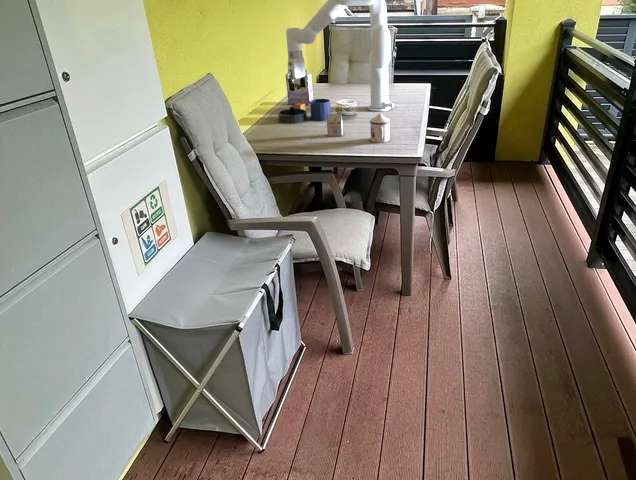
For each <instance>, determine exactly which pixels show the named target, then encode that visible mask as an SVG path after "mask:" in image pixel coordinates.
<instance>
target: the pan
mask: <svg viewBox="0 0 636 480" xmlns="http://www.w3.org/2000/svg"><path fill="white" fill-rule="evenodd" d="M294 110H295V114H299V115H289V114H290V108H287V109H282V110H279V111H278V112H277V114H278V115H277V116H278V122H279V123H283V124H300V123H304V122H306V121H308V114H307V113H308V112H307V109H306V110H304V109H294Z"/></svg>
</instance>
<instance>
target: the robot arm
mask: <svg viewBox="0 0 636 480" xmlns="http://www.w3.org/2000/svg"><path fill="white" fill-rule="evenodd" d="M359 6H360V7H361V6H362V7H363V6H368V8H369V19H370V22H369V23H370V26H369V28H370V29H369V30H370V32H369V36H370V39H371V40H370V41H371V50H370V52H369V70H370V105H368V106H367V109H368V111H372V112H387V111H390V110H391V108H394V107H395V103H394V102H391V100H390V99H389V64H390V62H391V31H390V29H389V28H388V13H387V3H386V0H326V1H325V3H324V4H323V5H322V6H321V7H320V8H319V9H318V11H317V12H316V13H315V15H313V16H312V18H311V19H310V20H309V21H308V22H307V24H306V25H305V26H304V27H303V28H300V27H288V28H286V29H285V34H286V35H285V36H286V45H287V46H286V47H287V48H286V49H287V72H286V73H285V79H286V78H287V81H288V83H289V90H290V91H295V85H294V83H293V82H294V80H295V79H298V78H300V87H302V88H305V87H306V85H305V79H306V73H308V70H307V68H306V64H305V59H304V58H305V57H304V55H303V45H311V44H313V43H314V42H315V41H316V40H317V37H318V36H319V34H320V33H321V32H322V31H323V30H324V29H325V28H326V27H327V26H328V25H330V24H332V23H333V22H334V21H335V20H336V19H337V18H338V17H339V16H340V14H342V12H343V11H344V10H345V9H346V8H347V7H359ZM291 79H292V80H291Z"/></svg>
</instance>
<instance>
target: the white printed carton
mask: <svg viewBox="0 0 636 480" xmlns="http://www.w3.org/2000/svg"><path fill="white" fill-rule="evenodd" d="M343 125H344V124H343V115H342V113H331V114H327V120H326V128H327V137H343V134H344V128H343V127H344V126H343Z"/></svg>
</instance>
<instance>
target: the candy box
mask: <svg viewBox="0 0 636 480" xmlns="http://www.w3.org/2000/svg"><path fill="white" fill-rule="evenodd" d="M291 80H292V79H291ZM285 83H286V84H285V85H286V92H287V93H286V94H287V103H288V105H294V104H297V103H305V106H310V101H311V100H314V93H313V81H312V73H308V72H307V73H306V79H305V85H306V87H305V88H302V87H300V78H298V79H295V80H294V82H293V83H294V85H295V91H290V90H289V83H288V81H287V78H286V77H285Z"/></svg>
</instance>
